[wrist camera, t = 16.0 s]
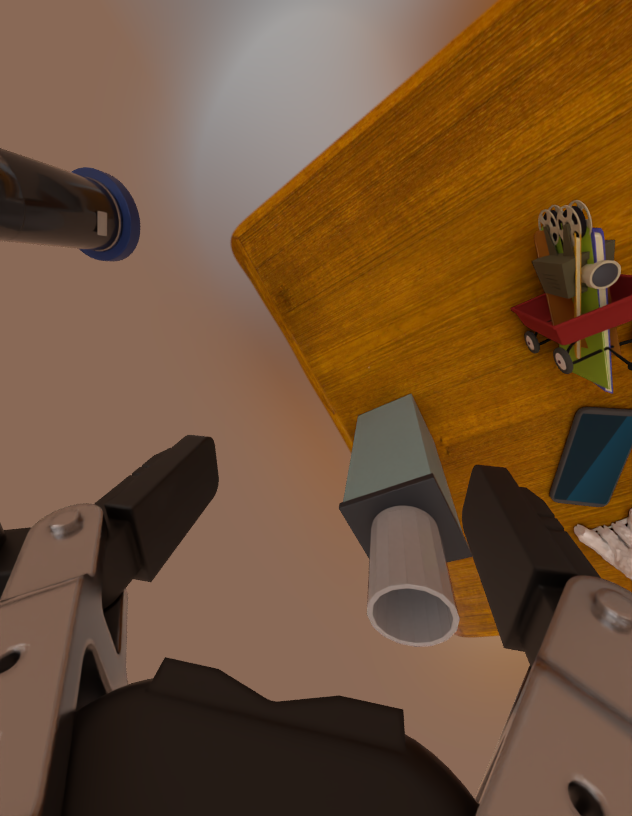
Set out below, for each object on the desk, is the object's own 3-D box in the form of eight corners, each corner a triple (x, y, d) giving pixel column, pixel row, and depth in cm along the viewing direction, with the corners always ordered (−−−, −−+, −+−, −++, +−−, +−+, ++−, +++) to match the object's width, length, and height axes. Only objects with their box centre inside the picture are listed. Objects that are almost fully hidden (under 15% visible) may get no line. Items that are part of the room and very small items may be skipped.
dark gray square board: (356, 415, 50) (338, 508, 30) (411, 391, 46) (434, 477, 26) (381, 461, 52) (380, 577, 32) (435, 442, 49) (472, 556, 29)
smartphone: (546, 498, 48) (549, 501, 48) (577, 405, 43) (581, 408, 42) (603, 504, 47) (607, 508, 46) (642, 409, 41) (648, 412, 41)
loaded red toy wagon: (530, 379, 44) (488, 233, 37) (609, 351, 41) (579, 186, 34) (615, 450, 29) (570, 225, 22) (751, 413, 26) (748, 138, 19)
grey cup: (369, 552, 31) (364, 637, 23) (373, 501, 28) (369, 577, 21) (434, 561, 30) (451, 653, 22) (444, 509, 27) (466, 593, 20)
